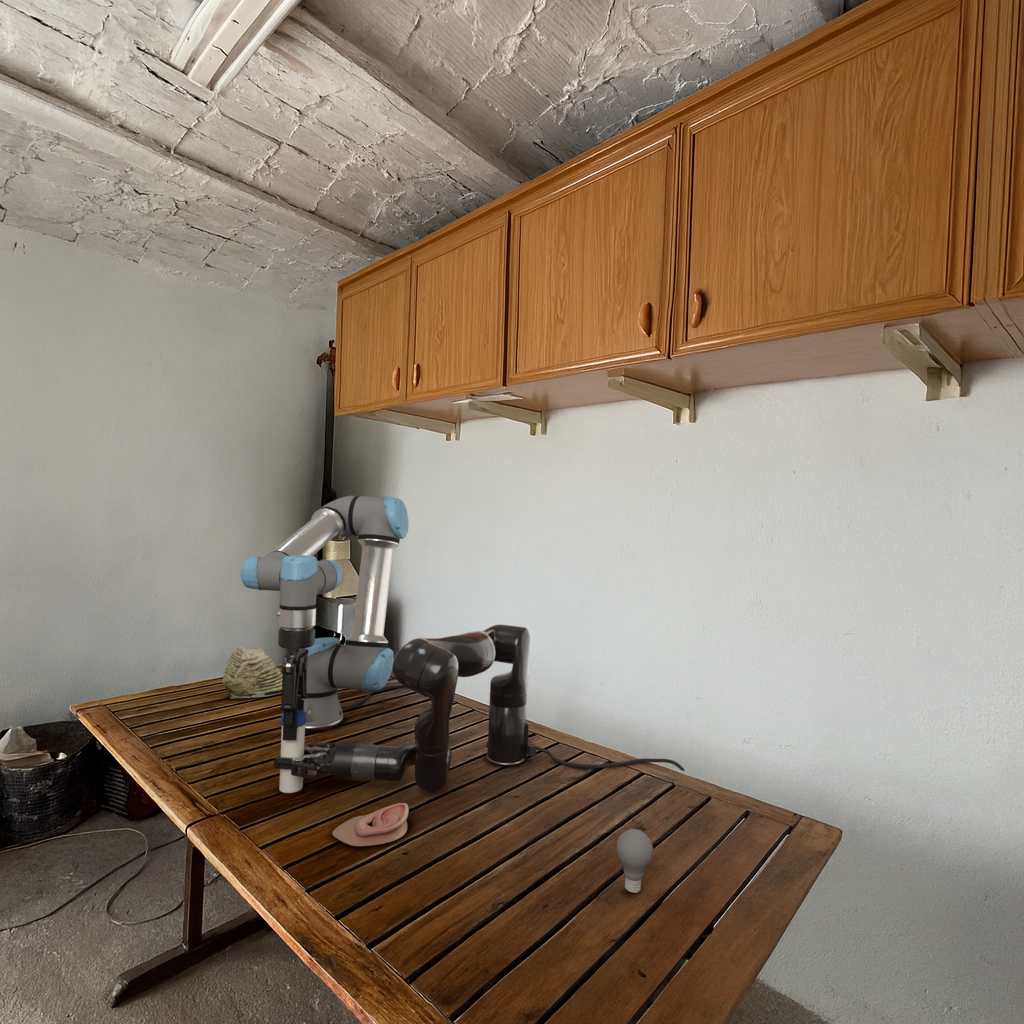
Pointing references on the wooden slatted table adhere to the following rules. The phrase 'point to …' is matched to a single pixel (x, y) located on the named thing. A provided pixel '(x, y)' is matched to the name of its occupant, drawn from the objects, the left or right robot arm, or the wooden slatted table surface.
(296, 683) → the left robot arm
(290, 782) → the white bottle
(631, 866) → the light bulb
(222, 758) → the wooden slatted table surface
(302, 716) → the lid
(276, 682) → the fossil
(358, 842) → the anatomical model
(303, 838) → the wooden slatted table surface
